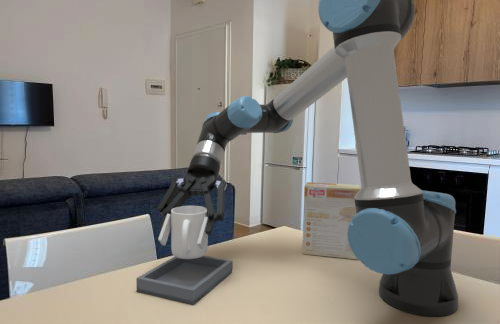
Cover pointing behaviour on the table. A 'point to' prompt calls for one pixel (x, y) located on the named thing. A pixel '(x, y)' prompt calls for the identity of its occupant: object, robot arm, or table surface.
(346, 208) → the coffeecake box
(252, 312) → the table surface
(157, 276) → the tray
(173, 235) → the mug
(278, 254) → the table surface
